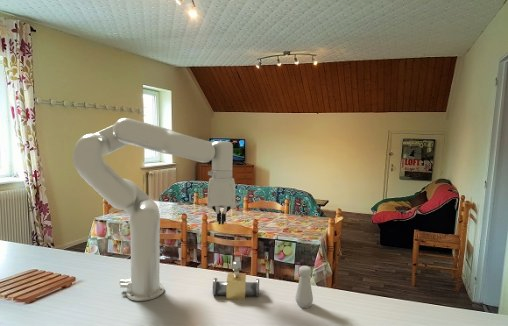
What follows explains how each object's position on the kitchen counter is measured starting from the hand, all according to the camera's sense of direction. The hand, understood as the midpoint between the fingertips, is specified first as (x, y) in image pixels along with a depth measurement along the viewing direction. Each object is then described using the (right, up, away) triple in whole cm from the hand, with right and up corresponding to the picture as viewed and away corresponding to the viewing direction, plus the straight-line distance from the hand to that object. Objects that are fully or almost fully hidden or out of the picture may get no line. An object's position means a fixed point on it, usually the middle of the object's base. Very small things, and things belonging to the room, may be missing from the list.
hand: (221, 223), depth 119 cm
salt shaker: (+29, -25, -13) cm, 40 cm away
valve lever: (+6, -14, -3) cm, 16 cm away
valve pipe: (+6, -24, -7) cm, 25 cm away
